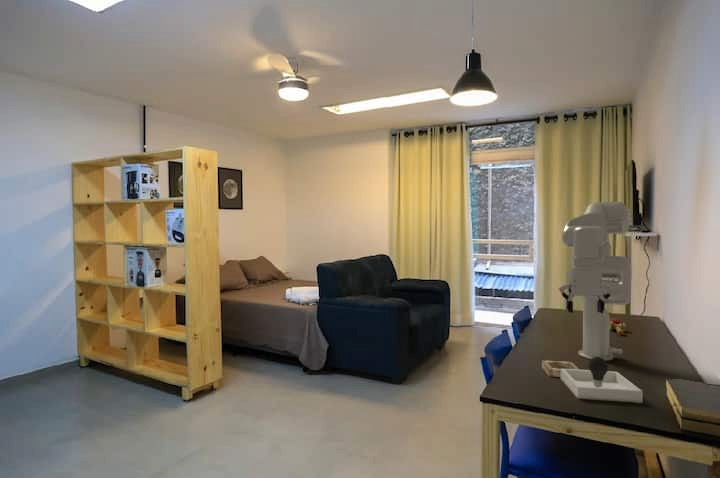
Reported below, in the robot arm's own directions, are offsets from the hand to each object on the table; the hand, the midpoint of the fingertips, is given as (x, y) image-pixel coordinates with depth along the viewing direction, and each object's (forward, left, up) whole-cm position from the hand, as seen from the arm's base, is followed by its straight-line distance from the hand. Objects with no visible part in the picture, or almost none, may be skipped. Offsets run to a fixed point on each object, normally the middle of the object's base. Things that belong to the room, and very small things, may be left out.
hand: (585, 312), depth 146 cm
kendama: (-42, -80, -24) cm, 93 cm away
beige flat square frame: (+6, -7, -23) cm, 25 cm away
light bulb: (-1, +9, -23) cm, 25 cm away
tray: (-1, +9, -23) cm, 25 cm away
